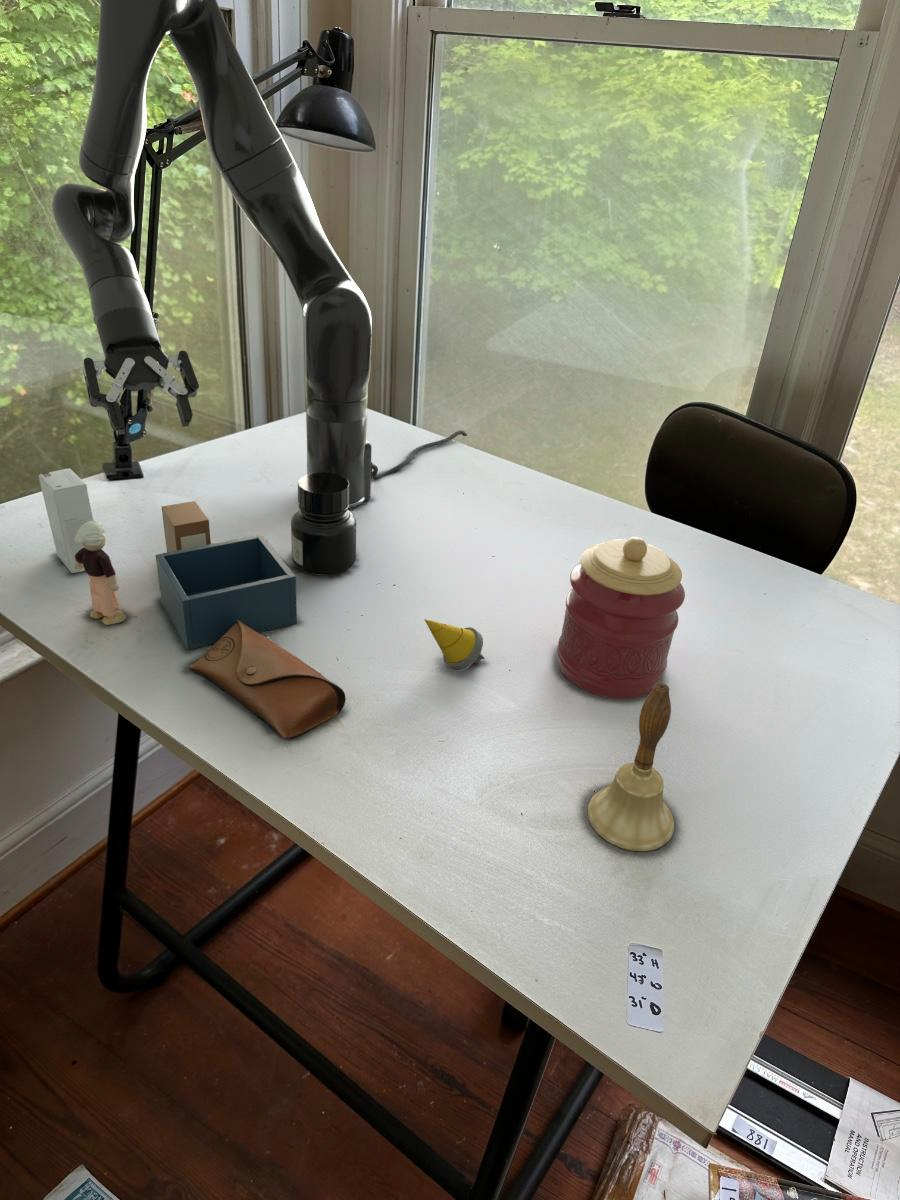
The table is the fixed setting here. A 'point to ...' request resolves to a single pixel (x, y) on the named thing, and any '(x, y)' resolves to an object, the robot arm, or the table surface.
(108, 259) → the robot arm
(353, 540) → the ink bottle
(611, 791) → the hand bell
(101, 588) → the grandmother figurine
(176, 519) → the brown packet
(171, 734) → the table surface
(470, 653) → the yellow spinning top
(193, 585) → the open storage box
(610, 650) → the kitchen canister
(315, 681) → the sunglasses case
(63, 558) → the cosmetic box
